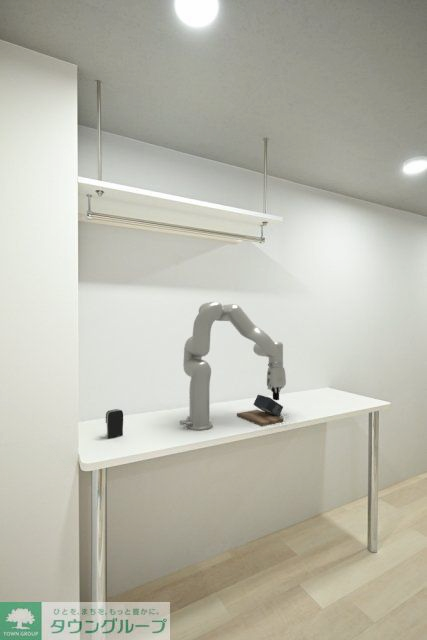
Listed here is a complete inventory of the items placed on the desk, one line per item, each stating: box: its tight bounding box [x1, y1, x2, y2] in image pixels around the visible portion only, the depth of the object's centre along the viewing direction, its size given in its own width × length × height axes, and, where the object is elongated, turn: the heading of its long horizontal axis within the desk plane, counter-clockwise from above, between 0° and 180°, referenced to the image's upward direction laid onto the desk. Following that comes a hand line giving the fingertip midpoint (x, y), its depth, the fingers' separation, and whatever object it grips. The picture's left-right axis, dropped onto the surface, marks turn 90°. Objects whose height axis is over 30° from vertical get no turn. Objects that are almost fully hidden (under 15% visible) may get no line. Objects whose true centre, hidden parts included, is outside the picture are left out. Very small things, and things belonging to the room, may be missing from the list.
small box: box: [252, 394, 284, 417], centre depth 169 cm, size 11×6×10 cm
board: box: [236, 409, 284, 427], centre depth 165 cm, size 14×20×2 cm
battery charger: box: [105, 408, 124, 439], centre depth 140 cm, size 7×4×11 cm, turn 130°
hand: (275, 399), depth 172 cm, fingers closed
